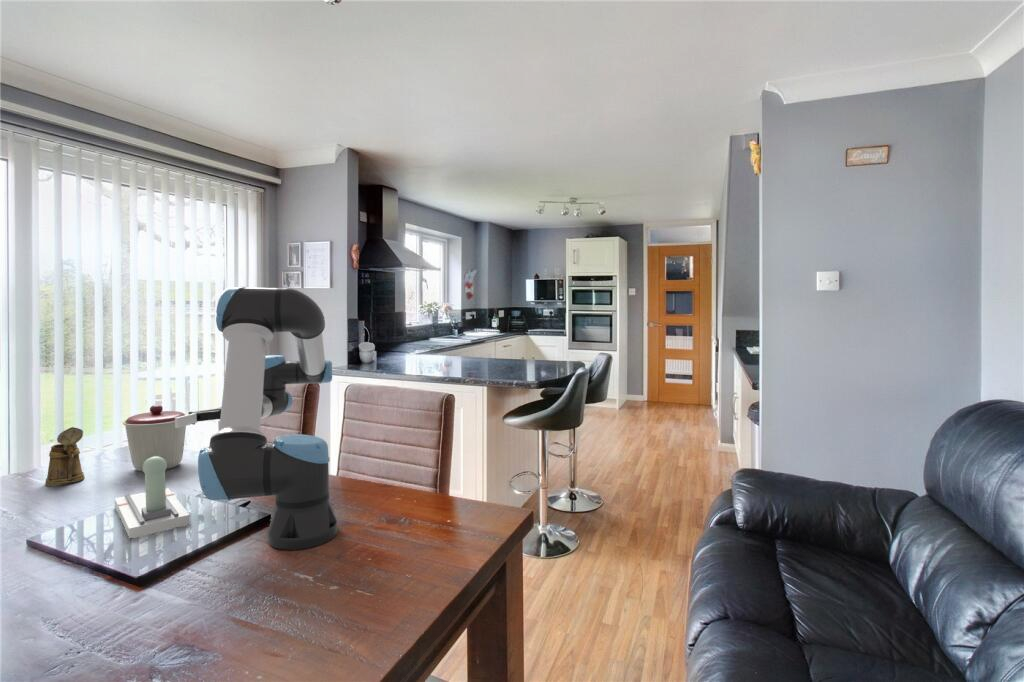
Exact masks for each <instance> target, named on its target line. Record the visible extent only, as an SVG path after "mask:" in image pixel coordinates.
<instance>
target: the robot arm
mask: <svg viewBox="0 0 1024 682" xmlns="http://www.w3.org/2000/svg"><path fill="white" fill-rule="evenodd" d="M215 312H216V317H215V323H216V327H217V329H218V331H219V332H221V333H222V337H223V338H224V339H225V340H226V341H227V342H228V344H227V352H226V361H225V364H226V365H225V370H224V371H225V372H224V380H223V382H224V383H223V390H222V400H221V401H222V402H221V406H220V407H216V408H208V409H202V410H195V411H194V410H193V411H189V412H188V413H187V414H186V415H185V416H181V417H177V418H175V428H179V427H183V426H186V427H187V426H190V425H196V424H197V422H205V421H206V422H207V421H214V420H218V421H217V422H218V423H217V425H218V426H217V427H218V431H217V432H216V433H214V435H212V436H210V439H209V447H208V446H205V447H203V448H201V449H200V450H199V453H198V456H197V458H198V459H197V472H198V481H199V484H200V488H201V491H202V493H203V495H204V497H205V498H207V500H210V501H225V500H226V501H231V500H235V499H237V500H238V499H248V498H256V497H259V498H260V497H269V496H271V497H272V496H275V507H274V511H273V514H272V517H271V521H270V524H269V527H268V529H267V543H268V545H270V546H271V547H272V548H275V549H279V550H283V551H284V550H285V551H286V550H287V551H289V550H290V551H297V550H305V549H309V548H314V547H317V546H319V545H323V544H325V543H327V542H329V541H331V540H332V539H333V538H335V537H336V536H337V534H338V530H339V529H338V520H337V516H336V514H335V512H334V510H333V509H334V508H333V506H332V503H331V501H330V471H329V470H330V468H329V467H330V466H329V464H330V463H329V462H330V455H329V445H328V442H327V441H325V439H323V438H322V437H321V438H320V437H319V436H315V435H310V434H301V433H299V434H297V433H294V434H293V433H291V434H283V435H282V434H281V435H279V436H276V437H275V438H274V440H273V443H267V442H268V438H267V436H266V435H265V434H264V433H263V432H262V431H261V428H262V427H261V426H262V425H261V424H262V419H266V418H269V417H272V416H275V415H280V414H282V413H285V412H287V411H289V410H290V409H291V407H292V406H293V396H292V394H291V393H290V392H289V391H288V390H286V387H287V386H286V385H295V384H296V385H298V384H299V385H300V384H302V385H303V384H304V385H306V384H324V383H325V384H326V383H331V382H332V381H333V362H332V361H331V360H326V357H325V349H324V338H323V332H324V331H325V327H326V322H325V319H326V318H325V315H324V312H323V310H322V309H321V308H320V307H319V305H318V304H317V302H315V301H314V299H312V298H311V297H310V296H308V295H307V294H305V293H303V292H301V291H300V290H297V289H294V288H287V287H247V286H240V287H227V288H226V289H224V290H223V291H222V293H221V294H220V295H219V298H218V301H217V306H216V311H215ZM285 332H286V333H287V332H288V333H291V334H292V336H293V337H294V342H295V345H296V349H297V350H296V351H297V356H298V360H286V358H285V357H286V356H284V355H282V354H280V355H278V354H271V355H270V354H269V355H267V354H266V353H267V345H268V344H269V343H271V342H272V341H273V340H274V336H275V334H274V333H285Z"/></svg>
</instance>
